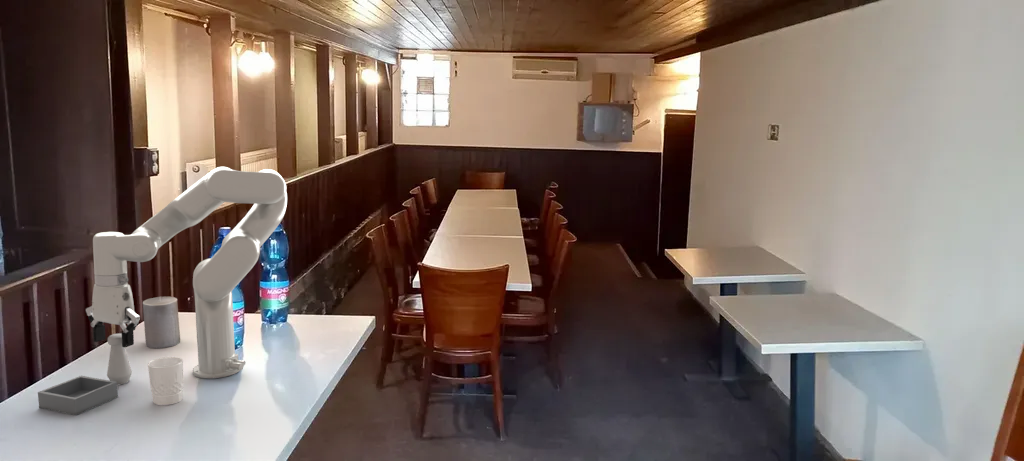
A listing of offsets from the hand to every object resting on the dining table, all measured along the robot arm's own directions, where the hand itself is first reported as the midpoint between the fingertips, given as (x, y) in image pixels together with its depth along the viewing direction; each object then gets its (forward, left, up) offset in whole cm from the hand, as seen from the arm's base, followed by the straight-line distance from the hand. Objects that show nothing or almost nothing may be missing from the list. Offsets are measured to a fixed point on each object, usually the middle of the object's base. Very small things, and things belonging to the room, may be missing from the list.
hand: (113, 343), depth 195 cm
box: (-3, +13, -11) cm, 17 cm away
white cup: (-22, +4, -11) cm, 25 cm away
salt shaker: (-1, -1, -11) cm, 11 cm away
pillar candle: (+13, -30, -11) cm, 34 cm away
